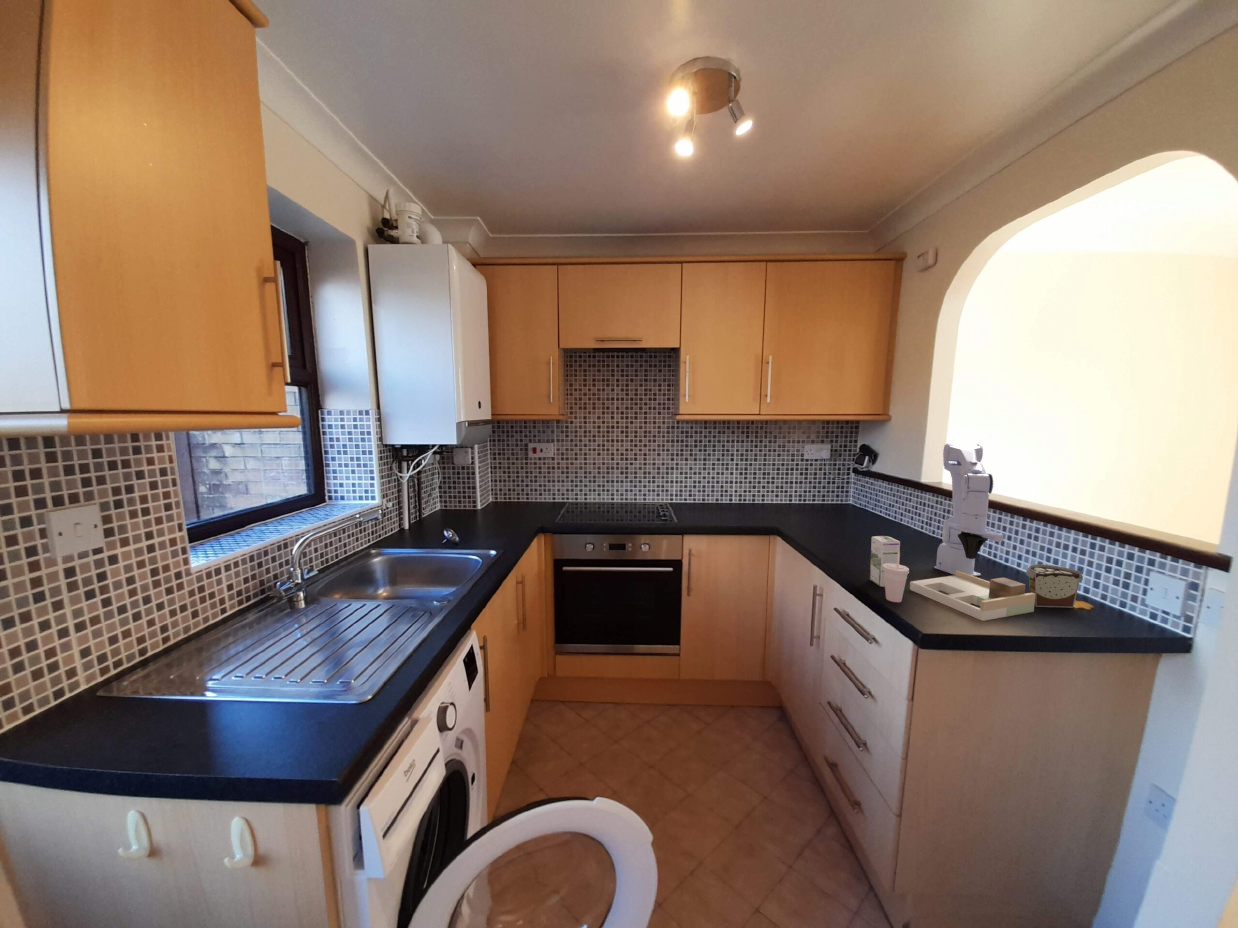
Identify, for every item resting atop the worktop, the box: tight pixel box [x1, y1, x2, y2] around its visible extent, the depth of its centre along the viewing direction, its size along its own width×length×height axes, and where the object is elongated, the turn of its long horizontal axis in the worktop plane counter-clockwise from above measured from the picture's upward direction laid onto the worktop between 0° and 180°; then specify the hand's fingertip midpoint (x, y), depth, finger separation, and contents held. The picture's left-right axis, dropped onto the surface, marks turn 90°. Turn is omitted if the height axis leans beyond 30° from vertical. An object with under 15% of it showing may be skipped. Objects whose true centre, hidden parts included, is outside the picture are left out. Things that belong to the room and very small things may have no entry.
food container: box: [1025, 563, 1084, 609], centre depth 114 cm, size 12×6×10 cm, turn 84°
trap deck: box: [909, 571, 1035, 622], centre depth 116 cm, size 20×18×5 cm
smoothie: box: [882, 552, 910, 603], centre depth 117 cm, size 6×6×14 cm
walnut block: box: [989, 577, 1026, 599], centre depth 111 cm, size 5×5×5 cm
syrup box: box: [869, 535, 901, 588], centre depth 128 cm, size 6×6×14 cm
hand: (970, 558), depth 123 cm, fingers closed
